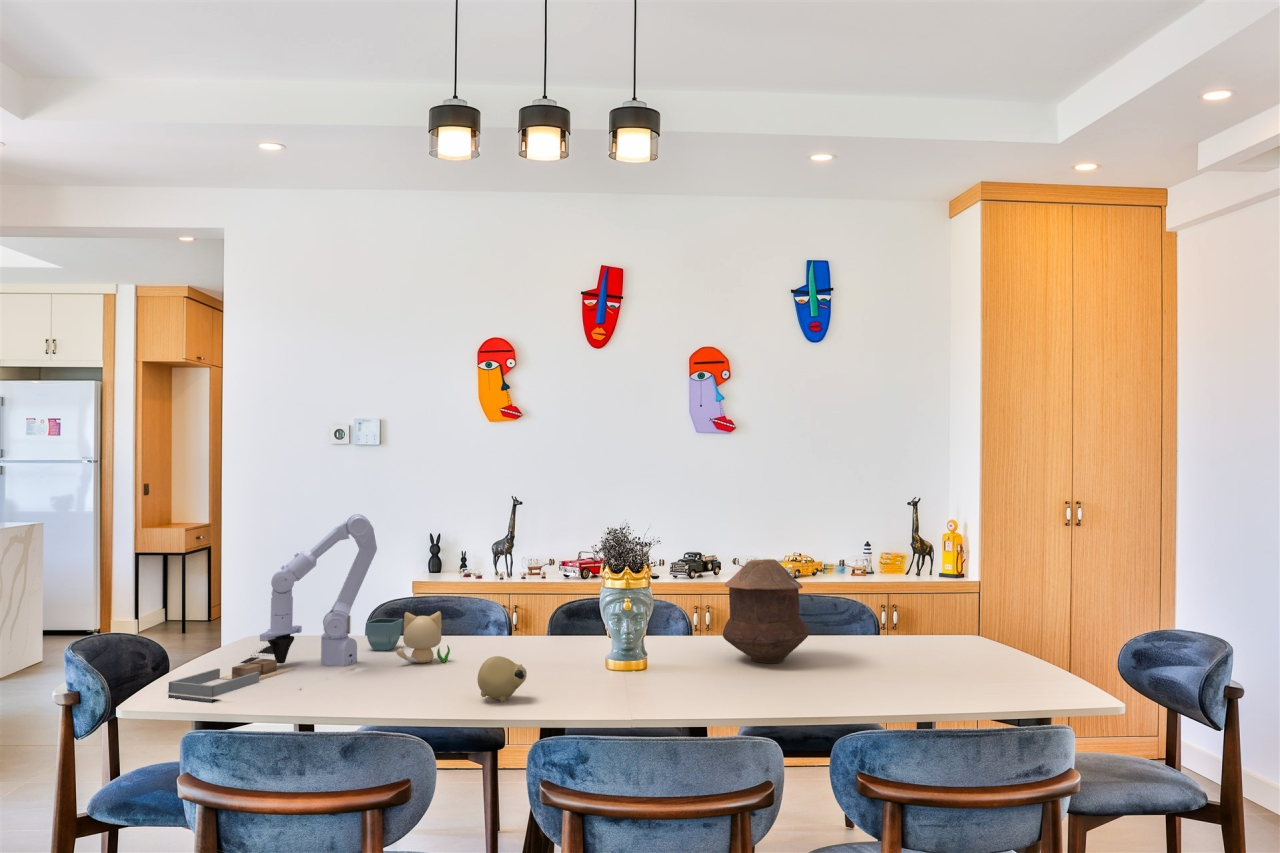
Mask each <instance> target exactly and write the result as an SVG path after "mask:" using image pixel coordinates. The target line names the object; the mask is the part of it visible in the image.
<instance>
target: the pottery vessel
mask: <svg viewBox="0 0 1280 853" xmlns="http://www.w3.org/2000/svg"><path fill="white" fill-rule="evenodd" d="M724 587H726V588H729V589H728V590H729V591H728V597H729V598H728V599H729V603H728V604H729V605H728V606H729V618H728V619H727V621H726V623H725V625H724V627H723V630H722V637H723V639H724V640H725V641H726V642H727V643H729V644H730V645H732V646H733V647H735V649H737V650H739V652H742V653H743V654H745V656H748V657H749V658H750V659H751V661H753V662H755V663H762V664H781V663H783V662H784V661H785V659H786V658H787V656H788V655H789V654H790V653H792V652H793V651H794V650H795V649H797V648H798V646H800V645H801V644H802V643H803V642H804V641H805V640H806V639H807V638H808V636H809V635H810V631H809V628H808V626H807V625H806V623H805V622H804V621H803V620H802V618H801V617H800V598H799V597H800V596H799V595H800V594H799V592H800V591H799V590H800V589H803V588H804V587H803V585H802V584H801V583H800V582H799V581H798V580H797V579H795V577H793V575H792V574H791V573H790V572H789V571H788V570H787V569H786V568H785V567H784V566H783V565H782V564H780V562H778V561H777V560H776V559H770V558H767V559H755V560H754V559H752V560H749V561H747V562H746V564H744V565H743V566H742V567H741V568H740V569H739V570H738V571H737V572H736V573H735V574H734V575H733V576H731V578H730V579H729V580H728V581H726V582H725V583H724Z"/></svg>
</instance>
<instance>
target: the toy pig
mask: <svg viewBox="0 0 1280 853" xmlns="http://www.w3.org/2000/svg"><path fill="white" fill-rule="evenodd" d="M476 679H477V680H476V681H477V685H478V688H479V689H480V696H481V697H482V698H486V697H489V698H492V699H496V700H499V701H500V703H504V702H505V701H506V700H507V698H509V697H511V696H512V695H513V694H514V693H515V692H516V690H517V689H518V688H519V687H521V685H523V683H524V682H525V681H526V679H527V669H526V668H525V667H524V666H523V664H521V663H520V664H517V663H516V662H514V661H512V660H511V659H509V658H507V657H505V656H500V655H496V656H491V657H488V658H487V659H485V661H484V662H482V664H481V666H480V667H479V669H478V673H477V678H476Z"/></svg>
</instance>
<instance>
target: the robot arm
mask: <svg viewBox="0 0 1280 853" xmlns="http://www.w3.org/2000/svg"><path fill="white" fill-rule="evenodd" d="M350 537H352V538H353V539H354V541H355V543H356V545H357V547H358V551H357V554H356V556H355V558H354V561H353V562H352V565H351V567H350V569H349V572H348V574H347V576H346V578H345V581H344V582H343V585H342V587H341V589H340V591H339V594H338V596H337V599H336V600H335V602H334V603H333V606H332V607H331V609H330V611H328V612H327V613H326V614H325V615H324V616H323V620H322V624H323V632H324V633H322V634H321V638H320V639H321V642H320V644H321V645H320V646H321V649H320V650H321V651H320V664H321V666H327V667H342V668H344V667H347V666H351V665H354V664H356V663H358V662H357V661H358V642H357V640H356V639H354V638H352V637H350V636H349V633H348V632H347V629H348V620H349V616H350V614H351V609H352V607H353V605H354V603H355V601H356V598H357V596H358V593H359V591H360V589H361V587H362V585H363V582H364V581H365V578H366V575H367V573H368V571H369V569H370V566H371V564H372V562H373V560H374V558H375V556H376V553H377V551H378V546H377V540H376V536H375V529H374V527H373V525H372V524H371V521H369V519H368V518H367V517H366V516H365V515H363V514H360V513H358V514H357V513H356V514H353V515H351V516H350V517H349V518H348V519H347V520H344V521H343V522H341V523H339V525H337V526H335V527H334V528H333V529H331V531H330V532H328V533H327V534H326V535H325V536H324V537H323V538H322V539H321V540H320V541H319V542H317V544H315V545H314V546H313V547H312V548H311V549H310V550H302V551H301V552H298V551H297V552H296V553H295V554H293V556H294V558H292V559H291V560H290V561H289V562H288V563H286V564H285V565H284V564H283V565H281V566H280V569H281V570H278V571H276V572H275V573H274V574H273V576H272V578H271V583H270V584H271V588H272V589H271V596H272V597H271V598H270V625H269V626H270V628H268V629H267V631H264V632H263V633H259V642H264V643H265V642H268V643H267V644H268V645H269V646H271V648H272V650H273V653H274V654H273V656H274V660H277V664H281V665H283V664H285V663H286V661H287V657H288V654H289V650H290V648H291V646H292V644H293V642H294V640H295V636H294V635H293V634H300V633H302V630H303V629H302V628H303V627H302V625H293V616H294V615H293V611H294V609H293V608H294V596H293V587H294V585H295V582H299V581H301V580H302V579H303V578H304V577H305V576H306V575H308V574H309V573H310V572H311V571H312V570H313V569H314V568H315V567H316V566H317V560H318V559H319V558H320V557H321V556H322V555H323V554H325V553H326V552H328V550H330V549H331V548H332V547H334V545H336V544H338V542H340V541H345V540H350Z"/></svg>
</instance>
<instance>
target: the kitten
mask: <svg viewBox="0 0 1280 853" xmlns="http://www.w3.org/2000/svg"><path fill="white" fill-rule="evenodd" d="M403 616H404V618H403V622H404V623H403V635H402V636H403V638H402V641H403V644H404V645H405V647H408V648H410V649H413V651H412V653H411V656H410V655H407V654H406V652H405V651H404V649H403V648H398V649H397V650H396V654H397V656H398V657H399V658H401V659H404V660H405V661H407V662H410V663H416V664H426V663H430V662H432V661H433V660H434V658H435V656H434V651H433V649H432V648H435V647H437V646H439V645H440V644H441V641H442V612H441V611H439V610H438V611H437V612H435V613H434V614H431V615H429V616H428V615H418V616H416V615H414V614H412V613H410V612H408V611H406V612H404V615H403ZM446 646H447V652H446V653H445V655H444V657H443V656H442V655H441V650H440V649H441V648H440V647H438V648H437V652H436V656H437V658H438V659H439V663H440V662H445V661H448V662H449V656H450V653H451V649H450V646H449V644H447V645H446ZM445 663H446V662H445Z"/></svg>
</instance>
